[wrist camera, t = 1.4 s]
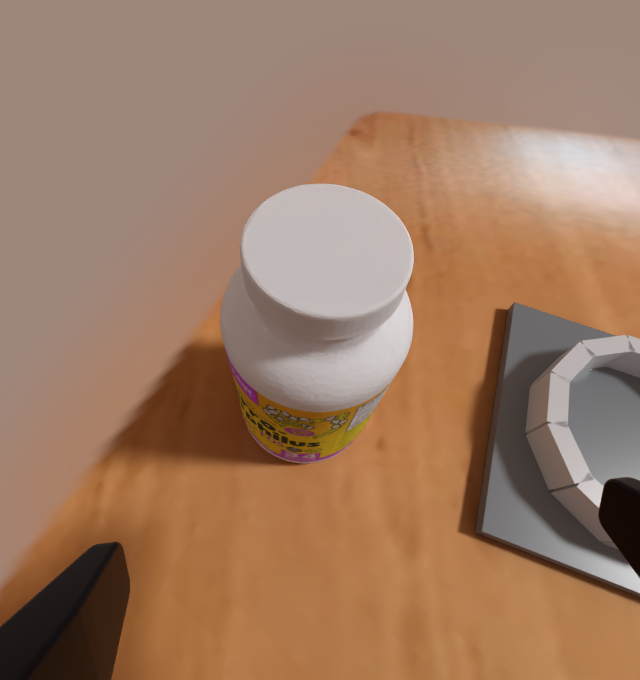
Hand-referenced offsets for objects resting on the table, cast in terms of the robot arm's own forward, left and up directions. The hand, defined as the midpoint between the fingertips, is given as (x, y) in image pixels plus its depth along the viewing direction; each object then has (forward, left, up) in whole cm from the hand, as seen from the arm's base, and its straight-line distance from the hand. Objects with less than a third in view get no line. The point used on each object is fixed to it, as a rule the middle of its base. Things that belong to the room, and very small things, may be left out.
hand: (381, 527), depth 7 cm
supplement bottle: (+6, +3, -13) cm, 15 cm away
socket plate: (+10, -14, -13) cm, 21 cm away
